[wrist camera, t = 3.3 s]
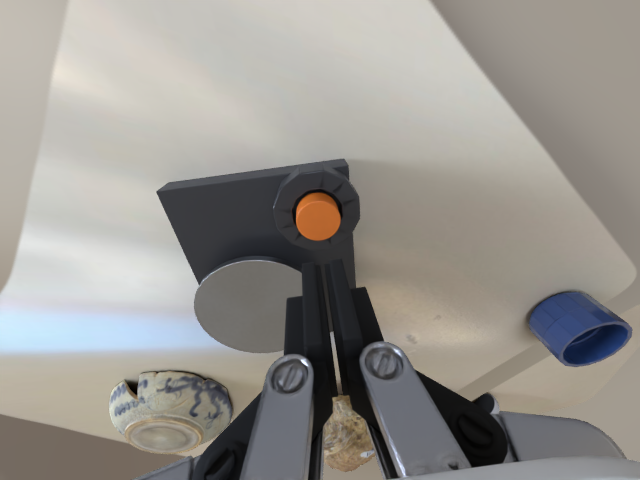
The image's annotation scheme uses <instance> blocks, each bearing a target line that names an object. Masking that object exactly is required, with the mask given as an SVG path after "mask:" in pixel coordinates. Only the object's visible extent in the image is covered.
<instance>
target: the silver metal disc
mask: <svg viewBox="0 0 640 480" xmlns="http://www.w3.org/2000/svg"><path fill="white" fill-rule="evenodd" d="M297 296H302V269H301V268H300V267H298V266H296V265H294V264H292V263H290V262H288V261H285V260H282V259H278V258H274V257H268V256H245V257H240V258H236V259H233V260H229V261H227V262H225V263H223V264H220V265H219V266H217V267H216V268H214V269H213V270H212V271H210V272H209V273H208V274H207V275H206V276H205V278H204V279H203V280H202V282H201V284H200V285H199V287H198V289H197V292H196V295H195V300H194V309H195V314H196V317H197V319H198V321H199V323H200V325H201V326H202V328H203V329H204V330H205V331H206V332H207V333H208V334H209V335H210V336H211V337H213V338H214V339H215V340H217V341H218V342H220V343H222V344H224V345H226V346H228V347H231V348H234V349H237V350H241V351H245V352H252V353H271V352H278V351H282V350H284V339H285V319H286V301H287V298H290V297H297Z"/></svg>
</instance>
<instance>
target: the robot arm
mask: <svg viewBox="0 0 640 480" xmlns="http://www.w3.org/2000/svg"><path fill="white" fill-rule="evenodd" d="M324 266H325V273H326V281H327V288H328V296H329V303H330V310H331V317H332V324H333V331H334V338H335V344H336V351H337V358H338V365H339V371H340V378H341V385H342V391H343V396H347V395H349V398H350V404H351V405H352V410H353V411H354V412H356V413H357V414H358V415H359V416H361V417H362V418H363V419H364V423H365V426H366V429H367V432H368V435H369V438H370V441H371V444H372V447H373V450H374V453H375V456H376V459H377V462H378V464H379V467H380V470H381V473H382V476H383V479H384V480H640V462H637V461H633V460H628V459H627V458H626V457H625V455H624V454H623V452H622V451H621V449H620V448H619V447H618V446H617V445H616V443H615V442H614V441H613V440H612V439H611V438H610V437H609V436H608V435H606V434H605V433H604V432H603V431H601V430H600V429H598V428H597V427H595V426H593V425H591V424H589V423H588V422H585V421H581V420H577V419H571V418H562V417H552V416H543V415H534V414H524V413H515V412H505V411H500V412H499V414H493V413H488V412H487V411H485V410H484V409H483V408H481V407H479V406H478V405H476V404H474V403H472V402H471V401H469V400H467V399H465V398H464V397H462V396H460V395H458V394H457V393H455V392H453V391H451V390H450V389H448V388H446V387H444V386H443V385H441V384H439V383H437V382H436V381H434V380H432V379H430V378H429V377H427V376H425V375H423V374H422V373H420V372H418V371H416V370H415V369H414V368H413V366H412V365H411V363H410V361H409V359H408V358H407V356H406V355H405V353H404V352H403V351H402V350H401V349H400V348H399V347H397V346H396V345H394V344H391V343H389V342H384V339H383V336H382V334H381V331H380V328H379V325H378V322H377V319H376V316H375V313H374V310H373V307H372V304H371V301H370V298H369V295H368V293H367V290H366V288H365V287H361V288H354V289H350V288H349V284H348V280H347V276H346V273H345V269H344V265H343V261H342V258H340V259H333V260H329V264H324ZM333 397H338V391H337V384H336V376H335V369H334V361H333V354H332V346H331V339H330V331H329V323H328V316H327V309H326V302H325V295H324V288H323V281H322V274H321V268H320V265H315V262H311V263H304V264H302V296H297V297H290V298H287V301H286V319H285V339H284V356H283V357H280V358H279V359H278V360H276V361H275V362H274V363H273V364H272V365H271V367H270V368H269V370H268V373H267V375H266V379H265V383H264V386H263V390H262V392H261V393H260V394H259V395H258V396H257V397H256V398H255V399H254V400H253V401H252V402H251V403H250V404H249V405H248V406H247V407H246V408H245V409H244V410H243V411H242V412H241V413H240V414H239V416H238V417H237V418H236V419H235V420H234V421H233V422H232V423H231V424H230V425H229V426H228V427H227V428H226V429H225V430H224V431H223V432H222V433H221V434H220V435H219V436H218V437H217V438H216V439H215V440H214V441H213V442H212V443H211V444H210V445H209V446H208V447H207V449H206V450H205V451H204V453H203V454H202V455H199V456H197V457H195V458H193V457H192V456H188V457H186V458H184V459H181V460H179V461H176V462H174V463H171V464H169V465H166V466H164V467H162V468H159V469H157V470H154V471H152V472H149V473H147V474H145V475H142V476H140V477H137V478H135V479H132V480H323V464H324V444H325V423H326V422H327V421H328V419H329V418H330V416H331V415H332V414H333V399H332V398H333Z"/></svg>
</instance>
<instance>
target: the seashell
mask: <svg viewBox="0 0 640 480" xmlns="http://www.w3.org/2000/svg"><path fill="white" fill-rule="evenodd" d="M332 399H333V414H332V415H331V416H330V418H329V419H328V421H327V422H326V423H325V444H324V462H325V463H326V464H328V465H329V466H330V467H331V468H334V469H338V470H340V471H344V472H347V471H352V470H355V469H356V468H358V467H359V466H360V465H363V464H364V463H366V462H368V461H370V460H371V459H372V457H374V456H375V453H374V450H373V447H372V444H371V441H370V438H369V435H368V432H367V429H366V426H365V423H364V419H363V418H362V417H361V416H359V415H358V414H357V413H356V412H354V411H353V410H352V405H351V404H350V398H349V396H343V395H338V397H333V398H332Z"/></svg>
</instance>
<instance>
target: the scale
mask: <svg viewBox="0 0 640 480" xmlns="http://www.w3.org/2000/svg"><path fill="white" fill-rule="evenodd" d="M317 192H318V193H324V194H327V195H329V196H330V197H331V198H333V200H334V201H335V202H336V204H337V207H338V210H339V214H340V218H341V222H340V226H339V228H338V230H337V232H336V233H335V234H334V235H333V236H331V237H330V238H328V239H325V240H320V241H315V240H310V239H308V238H306V237H305V236H303V235H302V234H301V233H300V232H299V230H298V228H297V224H296V210H297V206H298V204H299V202H300V200H301V199H302V198H303V197H305V196H306V195H308V194H311V193H317ZM157 195H158V197H159V199H160V201H161V203H162V205H163V208H164V210H165V212H166V214H167V216H168V219H169V221H170V223H171V225H172V227H173V229H174V232H175V234H176V236H177V238H178V240H179V242H180V245H181V247H182V249H183V251H184V253H185V256H186V258H187V260H188V262H189V264H190V266H191V269H192V271H193V273H194V275H195V277H196V279H197V282H198V284H199V285H200V284H201V282H202V280H203V279H204V278H205V276H206V275H207V274H208V273H209V272H210V271H212V270H213V269H214V268H216V267H217V266H219V265H220V264H223V263H225V262H227V261H229V260H233V259H236V258H240V257H245V256H268V257H274V258H278V259H282V260H285V261H288V262H290V263H292V264H294V265H296V266H298V267H300V268H301V269H302V264H304V263H311V262H315V265H320V268H321V274H322V281H323V288H324V295H325V302H326V309H327V316H328V323H329V331H330V332H333V324H332V317H331V310H330V303H329V296H328V288H327V281H326V273H325V266H324V264H329V260H333V259H340V258H342V261H343V265H344V269H345V273H346V276H347V280H348V284H349V288H350V289H354V288H356V280H355V264H354V248H353V230H354V228H355V227H356V225H357V223H358V221H359V219H360V205H359V196H358V194H357V192H356V190H355V189H354V187H353V186H352V184H351V183H350V182H349V168H348V164H347V163H346V161H345V159H337V160H330V161H323V162H315V163H308V164H301V165H294V166H286V167H279V168H272V169H265V170H257V171H250V172H243V173H235V174H228V175H221V176H214V177H206V178H199V179H192V180H185V181H177V182H170V183H167V184H166V185H165V186H163V187H162V188H161V189H159V190H158V191H157Z"/></svg>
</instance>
